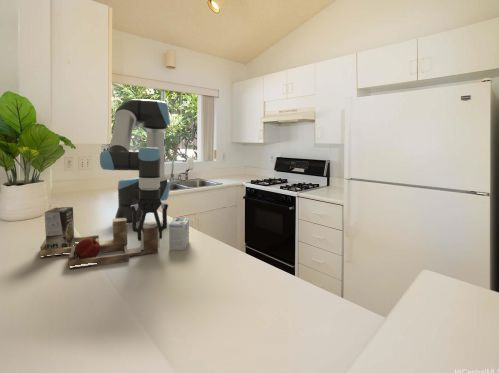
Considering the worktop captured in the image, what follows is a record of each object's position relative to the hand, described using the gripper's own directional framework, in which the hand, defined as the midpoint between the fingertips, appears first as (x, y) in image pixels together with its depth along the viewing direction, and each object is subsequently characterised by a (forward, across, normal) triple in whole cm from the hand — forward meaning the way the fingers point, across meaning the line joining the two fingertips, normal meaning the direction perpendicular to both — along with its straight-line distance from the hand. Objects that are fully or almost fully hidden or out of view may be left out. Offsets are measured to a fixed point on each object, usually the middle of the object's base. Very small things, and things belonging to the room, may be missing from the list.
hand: (150, 247), depth 108 cm
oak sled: (+1, +22, -14) cm, 26 cm away
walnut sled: (+1, +12, 0) cm, 12 cm away
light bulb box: (+2, -12, -3) cm, 13 cm away
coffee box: (+2, +30, -14) cm, 33 cm away
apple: (+2, +21, 0) cm, 21 cm away
